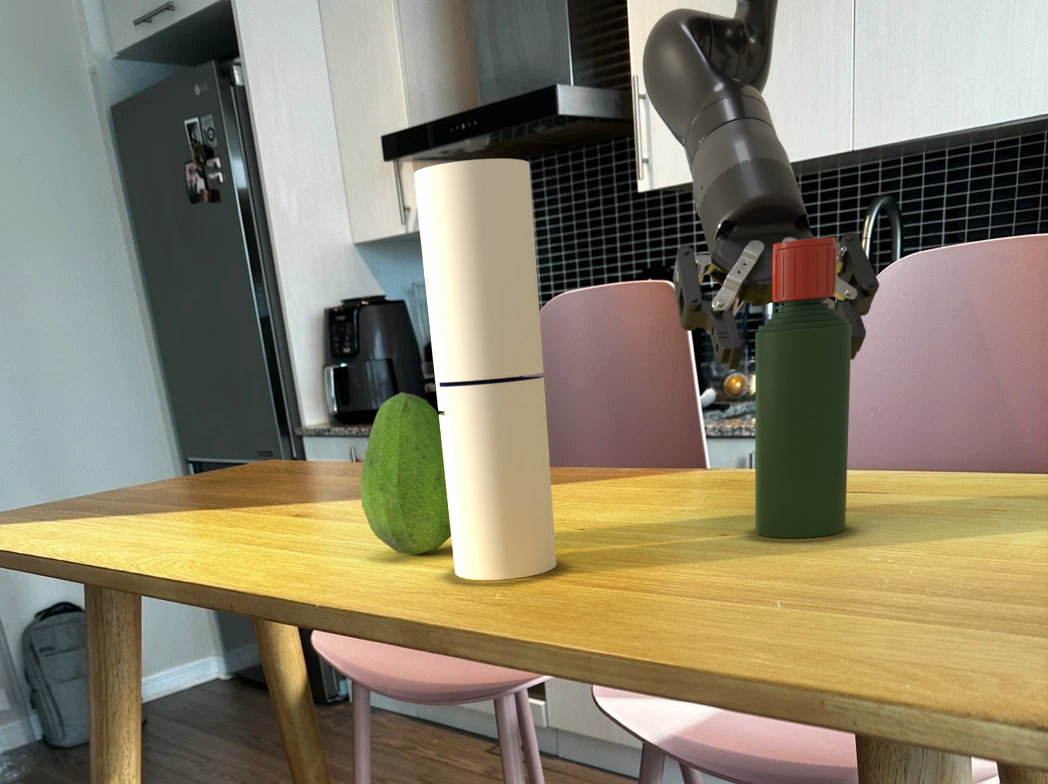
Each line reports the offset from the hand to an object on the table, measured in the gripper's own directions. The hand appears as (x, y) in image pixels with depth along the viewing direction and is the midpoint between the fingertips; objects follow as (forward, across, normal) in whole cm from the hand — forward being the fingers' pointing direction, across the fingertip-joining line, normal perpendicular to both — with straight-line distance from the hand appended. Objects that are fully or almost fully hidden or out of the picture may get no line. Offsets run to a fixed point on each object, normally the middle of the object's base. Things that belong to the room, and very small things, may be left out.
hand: (794, 356), depth 73 cm
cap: (-2, 0, -4) cm, 4 cm away
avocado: (+6, -28, +12) cm, 31 cm away
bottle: (+10, 0, +7) cm, 12 cm away
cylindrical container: (+12, -22, +5) cm, 26 cm away
